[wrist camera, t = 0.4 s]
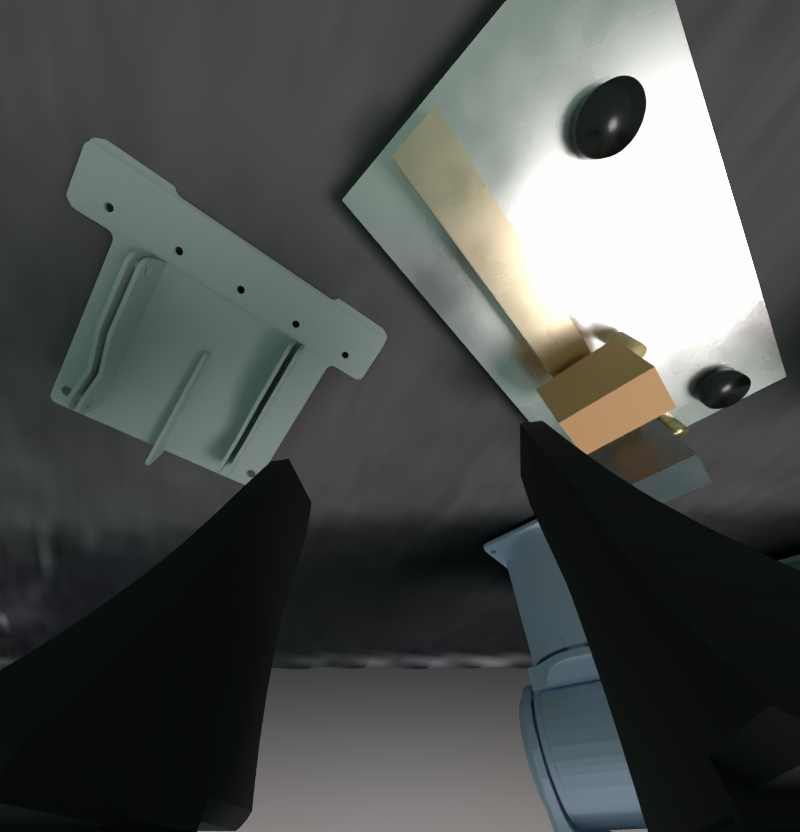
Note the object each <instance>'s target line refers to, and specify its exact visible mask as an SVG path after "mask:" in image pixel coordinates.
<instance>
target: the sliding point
mask: <svg viewBox="0 0 800 832" xmlns="http://www.w3.org/2000/svg"><path fill="white" fill-rule="evenodd" d="M646 352H647V347H646V346H645V345H644V344H642V343H641V342H639V341H638V340H636V339H634V338H633V337H631V336H630V335H628V334H626V333H625V332H617V333H615V334H613V335H612V336H611V338H610V339H609V342H607V343H606V344H604V345H603V346H601V347H600V348H598V349H597V350H595V351H594V352H592V353H590V354H589V355H587V356H586V357H584V358H583V359H581V360H580V361H578V362H577V363H575V364H574V365H572V366H570V367H569V368H567V369H566V370H564V371H563V372H561V373H560V374H558V375H557V376H555V377H554V378H552V379H551V380H549V381H547V382H546V383H544V384H543V385H541V386H540V387H538V388H537V389H536V390H537V392H538V393H539V395H540V396H541V398H542V399H543V401H544V402H545V404H546V405H547V407H548V408H549V410H550V411H551V413H552V414H553V416H554V417H555V419H556V420H557V422H558V423H559V425H560V426H561V427H562V428H563V430H564V431H565V432H566V433H567V435H568V436H569V437H570V439H571V440H572V441H573V442H574V444H575V445H576V446H577V447H578V448H579V449H580V450H582V451H583V452H584V453H586V454H589V453H591V452H593V451H595V450H597V449H599V448H600V447H602V446H604V445H606V444H608V443H610V442H612V441H614V440H616V439H617V438H619V437H621V436H623V435H625V434H627V433H629V432H631V431H633V430H634V429H636V428H638V427H640V426H642V425H644V424H646V423H648V422H650V421H651V420H653V419H655V418H657V417H659V416H661V415H663V414H665V413H667V412H669V411H670V410H672V409H674V408H676V406H675V404H674V402H673V400H672V398H671V397H670V395H669V393H668V391H667V389H666V387H665V385H664V383H663V382H662V380H661V378H660V376H659V374H658V372H657V370H656V368H655V367H654V366H653V365H651V364H650V363H649V362H647V361H646V360H644V359H643V357H644V356H645V354H646Z"/></svg>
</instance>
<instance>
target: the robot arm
mask: <svg viewBox="0 0 800 832" xmlns="http://www.w3.org/2000/svg"><path fill="white" fill-rule="evenodd" d="M520 459H521V478H522V481H523V484H524V487H525V490H526V493H527V496H528V499H529V502H530V505H531V508H532V510H533V512H534V514H535V517H536V519H535V520H533V521H531V522H529V523H527V524H525V525H523V526H521V527H518V528H516V529H514V530H512V531H510V532H508V533H506V534H504V535H502V536H500V537H498V538H495V539H493V540H491V541H489V542H487V543H485V544H484V550H485V551H486V552H487V553H488V554H489V555H491V556H492V557H493V558H495V559H496V560H497V561H498V562H500V563H501V564H502V565H503V566H505V567H506V568H507V569H508V571H509V575H510V579H511V582H512V586H513V590H514V593H515V597H516V601H517V604H518V608H519V612H520V616H521V619H522V623H523V627H524V630H525V634H526V638H527V641H528V645H529V649H530V652H531V656H532V660H533V663H534V666H533V667H530V668H528V669H527V670H528V674H529V678H530V682H531V685H527V686H525V688H524V689H523V693H522V698H521V700H520V705H519V720H520V728H521V734H522V740H523V744H524V748H525V753H526V757H527V760H528V764H529V767H530V771H531V774H532V777H533V780H534V782H535V785H536V788H537V790H538V793H539V795H540V797H541V800H542V802H543V804H544V806H545V808H546V809H547V812H548V815H549V818H550V821H551V824H552V827H553V830H554V832H611V831H609V830H621V829H644V828H647V829H648V832H800V570H797V569H795V568H793V567H790V566H788V565H786V564H784V563H782V562H779V561H777V560H775V559H773V558H770V557H768V556H766V555H764V554H762V553H759V552H757V551H755V550H753V549H751V548H749V547H747V546H745V545H743V544H740V543H738V542H736V541H734V540H732V539H730V538H728V537H726V536H724V535H722V534H720V533H718V532H716V531H714V530H712V529H710V528H708V527H706V526H704V525H702V524H700V523H698V522H696V521H694V520H692V519H690V518H688V517H687V516H685V515H683V514H681V513H679V512H678V511H676V510H674V509H672V508H670V507H668V506H667V505H665V504H663V503H661V502H659V501H658V500H656V499H654V498H652V497H651V496H649V495H647V494H646V493H644V492H642V491H641V490H639V489H638V488H636V487H634V486H633V485H631V484H630V483H628V482H627V481H625V480H623V479H622V478H620V477H619V476H617V475H616V474H614V473H613V472H611V471H610V470H608V469H607V468H605V467H604V466H602V465H601V464H600V463H598V462H597V461H595V460H594V459H593V458H591V457H590V456H588V455H587V454H586V453H584V452H583V451H582V450H580V449H579V448H578V447H576V446H575V445H574V444H572V443H571V442H570V441H568V440H567V439H566V438H564V437H563V436H562V435H561V434H559V433H558V432H557V431H555V430H554V429H553V428H551V427H550V426H549V425H548V424H546V423H545V422H544V421H542V420H541V421H535V422H528V423H522V424H520ZM310 508H311V501H310V499H309V497H308V495H307V493H306V491H305V489H304V487H303V485H302V484H301V482H300V480H299V478H298V476H297V474H296V472H295V470H294V468H293V466H292V464H291V463H290V461H289V459H285V460H278V461H271V462H270V463H269V464H268V465H266V466H265V467H264V468H263V469H262V470H261V471H260V472H259V473H257V474H256V475H255V476H254V477H253V478H252V479H251V480H250V481H249V482H248V483H247V484H246V485H245V486H244V487H243V488H242V489H241V490H240V491H239V492H238V493H237V494H236V495H235V496H234V497H233V498H231V499H230V500H229V501H228V502H227V503H226V504H225V505H224V506H223V507H222V508H221V509H220V510H219V511H218V512H217V513H216V514H215V515H214V516H213V517H211V518H210V519H209V520H208V521H207V522H206V523H205V524H204V525H203V526H202V527H200V528H199V529H198V530H197V531H196V532H195V533H194V534H193V535H192V536H190V537H189V538H188V539H187V540H186V541H185V542H184V543H183V544H181V545H180V546H179V547H178V548H177V549H176V550H174V551H173V552H172V553H171V554H169V555H168V556H167V557H166V558H165V559H163V560H162V561H161V562H160V563H158V564H157V565H156V566H155V567H153V568H152V569H151V570H149V571H148V572H147V573H146V574H144V575H143V576H142V577H140V578H139V579H138V580H136V581H135V582H134V583H132V584H131V585H129V586H128V587H127V588H125V589H124V590H123V591H121V592H120V593H118V594H117V595H116V596H114V597H113V598H111V599H110V600H109V601H107V602H106V603H104V604H103V605H102V606H100V607H99V608H98V609H96V610H95V611H93V612H92V613H90V614H89V615H87V616H86V617H84V618H83V619H81V620H80V621H78V622H77V623H75V624H74V625H72V626H71V627H69V628H68V629H66V630H65V631H63V632H62V633H60V634H58V635H57V636H55V637H54V638H52V639H51V640H49V641H47V642H46V643H44V644H43V645H41V646H40V647H38V648H36V649H35V650H33V651H32V652H30V653H28V654H27V655H25V656H23V657H22V658H20V659H19V660H17V661H15V662H14V663H12V664H10V665H8V666H7V667H5V668H3V669H2V670H0V832H197V831H236V830H237V829H239V828H240V827H241V826H242V824H243V823H244V822H245V821H246V819H247V818H248V817H249V815H250V813H251V812H252V805H253V794H254V785H255V777H256V767H257V759H258V750H259V741H260V735H261V728H262V722H263V714H264V708H265V701H266V695H267V689H268V683H269V678H270V671H271V666H272V661H273V655H274V650H275V645H276V640H277V636H278V631H279V626H280V621H281V617H282V613H283V609H284V605H285V602H286V598H287V595H288V592H289V589H290V585H291V582H292V579H293V576H294V572H295V569H296V566H297V563H298V559H299V556H300V553H301V549H302V546H303V543H304V539H305V536H306V532H307V527H308V521H309V515H310Z"/></svg>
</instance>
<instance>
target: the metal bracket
mask: <svg viewBox="0 0 800 832" xmlns="http://www.w3.org/2000/svg"><path fill="white" fill-rule="evenodd" d="M67 198H68V200H69V202H70V204H71V206H72V207H73V208H74V209H75V210H77V211H78V212H80V213H82V214H83V215H85V216H87V217H88V218H90V219H92V220H93V221H95V222H97V223H98V224H100V225H102V226H103V227H105V228H107V229H108V230H109V231H110V232H111V234H112V236H113V242H112V244H111V246H110V249H109V251H108V254H107V256H106V259H105V261H104V264H103V266H102V269H101V271H100V274H99V276H98V279H97V281H96V284H95V286H94V288H93V291H92V293H91V296H90V298H89V301H88V303H87V306H86V308H85V311H84V313H83V316H82V318H81V321H80V323H79V326H78V328H77V330H76V333H75V335H74V338H73V340H72V343H71V345H70V348H69V350H68V353H67V355H66V358H65V360H64V363H63V365H62V368H61V370H60V372H59V375H58V377H57V380H56V382H55V385H54V387H53V390H52V392H51V399H52V400H53V401H54V402H55V403H57V404H59V405H62V406H64V407H66V408H68V409H71V410H73V411H76V412H77V413H80V414H82V415H85V416H87V417H89V418H92V419H94V420H96V421H99V422H101V423H103V424H106V425H108V426H110V427H112V428H115V429H117V430H119V431H122V432H124V433H126V434H129V435H131V436H133V437H135V438H138V439H140V440H142V441H145V442H147V443H149V444H152V445H154V447H153V449H152V451H151V453H150V455H149V456H148V458H147V460H146V462H145V464H146V465H150V464H151V463H152V462H153V461H154V460H156V459H157V458H158V457H159V456H160V455H161V454H162V453H163V452H164V451H168V452H170V453H172V454H175V455H177V456H179V457H182V458H184V459H186V460H188V461H191V462H193V463H195V464H198V465H200V466H202V467H205V468H207V469H209V470H211V471H214V472H216V473H218V474H221V475H223V476H225V477H227V478H230V479H232V480H234V481H237V482H239V483H241V484H244V485H246V484H247V483H248V482H249V481H250V480H251V479H252V478H253V477H254V476H255V475H256V474H257V473H259V472H260V471H261V470H262V469H263V468H264V467H265V466H266V465H268V463H269V462H270V460H271V458H272V457H273V455H274V453H275V452H276V450H277V449H278V447H279V445H280V444H281V442H282V440H283V439H284V437H285V435H286V434H287V432H288V431H289V429H290V427H291V426H292V424H293V422H294V421H295V419H296V417H297V416H298V414H299V413H300V411H301V409H302V408H303V406H304V404H305V403H306V401H307V399H308V398H309V396H310V395H311V393H312V391H313V390H314V388H315V386H316V385H317V383H318V381H319V380H320V378H321V377H322V375H323V373H324V372H325V370H326V369H327V368H328V367H329V366H334V367H336V368H338V369H339V370H341V371H343V372H344V373H346V374H348V375H349V376H351V377H353V378H354V379H361V378H362V377H363V376H364V375H365V374H366V372H367V370H368V369H369V367H370V366H371V364H372V363H373V361H374V360H375V358H376V356H377V355H378V353H379V352H380V350H381V349H382V347H383V346H384V344H385V341H386V339H387V336H386V333H385V331H384V330H383V328H381V327H380V326H378V325H377V324H375V323H374V322H372V321H371V320H369V319H368V318H366V317H365V316H364V315H362V314H361V313H359V312H358V311H356V310H355V309H353V308H352V307H350V306H349V305H347V304H346V303H345V302H343V301H342V300H340V299H339V298H338V299H336V300H333V299H330V298H329V297H327V296H326V295H324V294H323V293H321V292H320V291H318V290H317V289H315V288H314V287H312V286H311V285H309V284H308V283H307V282H305V281H304V280H302V279H301V278H299V277H298V276H296V275H295V274H293V273H292V272H290V271H289V270H287V269H286V268H284V267H283V266H281V265H280V264H278V263H277V262H275V261H274V260H273V259H271V258H270V257H268V256H267V255H265V254H264V253H262V252H261V251H259V250H258V249H256V248H255V247H253V246H252V245H250V244H249V243H247V242H246V241H244V240H243V239H241V238H240V237H238V236H237V235H236V234H234V233H233V232H231V231H230V230H228V229H227V228H225V227H224V226H222V225H221V224H219V223H218V222H216V221H215V220H213V219H212V218H210V217H209V216H207V215H206V214H204V213H203V212H202V211H200V210H199V209H197V208H196V207H194V206H193V205H191V204H190V203H188V202H187V201H185V200H184V199H182V198H181V197H180V196H179V195H178V194H177V191H176V189H175V186H173V185H172V184H170V183H169V182H167V181H166V180H164V179H163V178H161V177H160V176H158V175H157V174H156V173H154V172H153V171H151V170H150V169H148V168H147V167H145V166H144V165H142V164H141V163H139V162H138V161H137V160H135V159H134V158H132V157H131V156H129V155H128V154H126V153H125V152H123V151H122V150H120V149H119V148H117V147H116V146H115V145H113V144H112V143H110V142H109V141H107V140H105V139H100V138H92V139H90V141H89V142H86V143H85V144H84V146H83V149H82V152H81V154H80V157H79V160H78V163H77V165H76V168H75V171H74V174H73V177H72V179H71V182H70V185H69V188H68V190H67ZM109 203H111V204H112V205H113V208H114V209H113V211H112V212H109V211H108V210H107V208H106V206H107V204H109ZM177 247H181V248H182V250H183V254H182V255H180V256H179V255H178V254H177V253H176V249H177ZM239 286H243V287H244V289H245V291H244V293H243V294H241V293H239V292H238V287H239ZM295 320H296V321H298V322H299V324H300V325H299V327H297V328H296V327H294V326H293V324H292V323H293V321H295ZM343 352H347V353H348V354H349V356H348V357H347V358H343V357H342V353H343ZM65 386H68V387H70V388H71V389H72V391H71V392H70V394H67V393H65V391H64V387H65ZM248 470H253V471H255V473H256V474H255V475H254V476H250V475H248V473H247V471H248Z"/></svg>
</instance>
